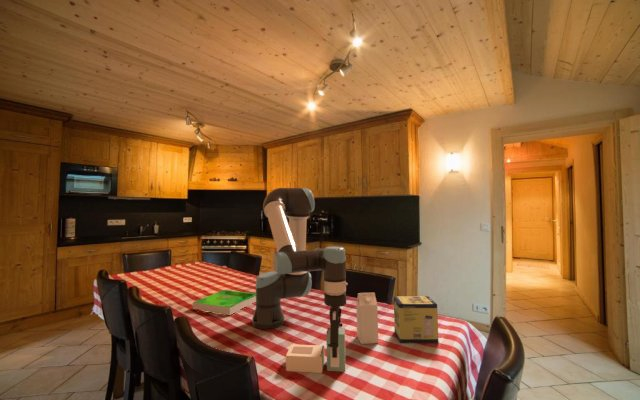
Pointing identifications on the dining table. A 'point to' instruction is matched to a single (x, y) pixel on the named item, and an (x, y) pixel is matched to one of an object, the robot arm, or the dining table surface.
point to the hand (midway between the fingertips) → (336, 355)
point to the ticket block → (305, 358)
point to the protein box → (415, 319)
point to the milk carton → (367, 318)
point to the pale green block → (341, 351)
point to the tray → (225, 302)
